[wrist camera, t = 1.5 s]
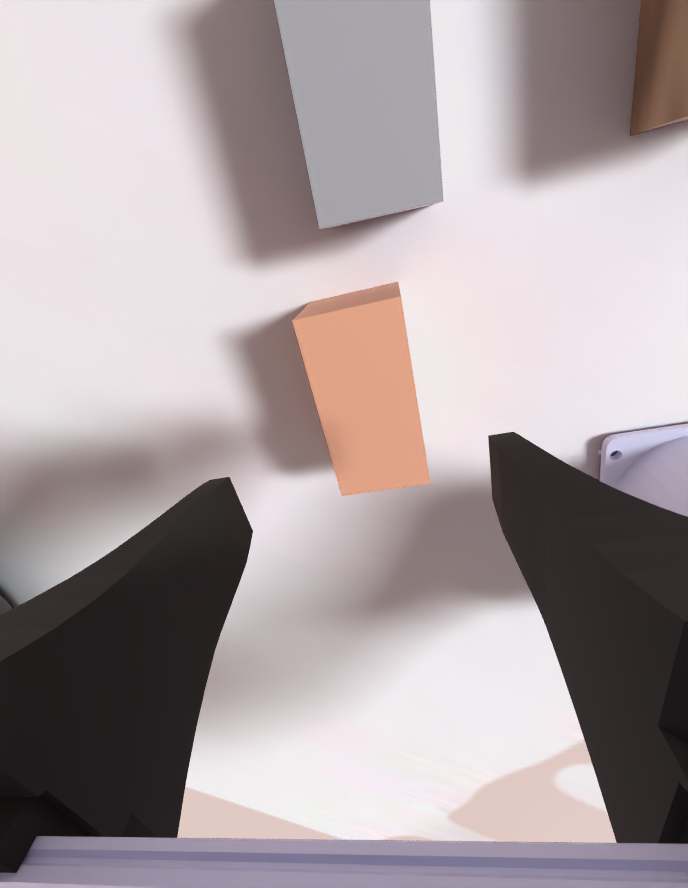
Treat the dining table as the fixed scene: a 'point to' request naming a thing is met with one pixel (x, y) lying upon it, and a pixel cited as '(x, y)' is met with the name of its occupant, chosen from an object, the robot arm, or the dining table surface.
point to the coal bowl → (4, 605)
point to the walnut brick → (661, 66)
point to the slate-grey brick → (364, 104)
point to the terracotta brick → (364, 388)
